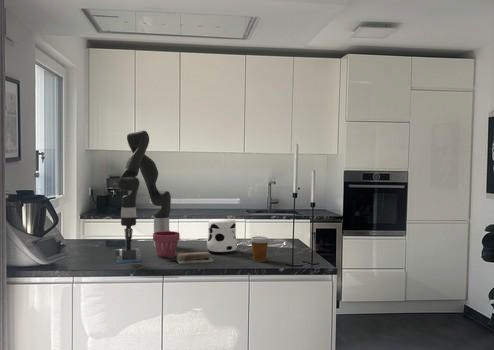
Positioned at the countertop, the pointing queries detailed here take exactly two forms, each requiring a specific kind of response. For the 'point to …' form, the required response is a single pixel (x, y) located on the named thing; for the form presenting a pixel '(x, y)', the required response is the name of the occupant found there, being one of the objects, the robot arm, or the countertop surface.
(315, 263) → the countertop surface
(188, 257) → the packaged product
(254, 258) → the disposable coffee cup
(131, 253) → the charcoal rectangular prism
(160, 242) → the plant pot
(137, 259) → the white pegged board
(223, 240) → the milk container
